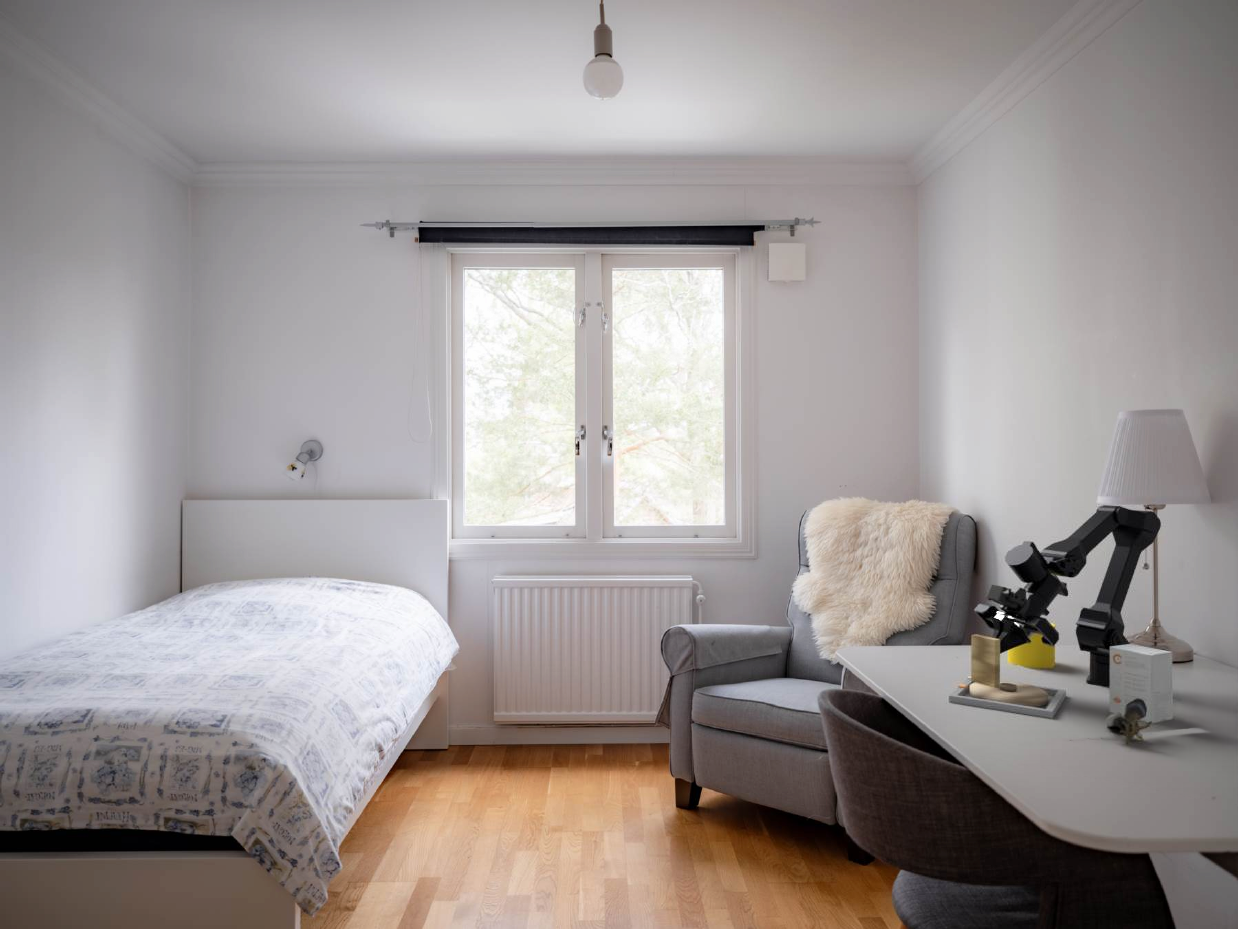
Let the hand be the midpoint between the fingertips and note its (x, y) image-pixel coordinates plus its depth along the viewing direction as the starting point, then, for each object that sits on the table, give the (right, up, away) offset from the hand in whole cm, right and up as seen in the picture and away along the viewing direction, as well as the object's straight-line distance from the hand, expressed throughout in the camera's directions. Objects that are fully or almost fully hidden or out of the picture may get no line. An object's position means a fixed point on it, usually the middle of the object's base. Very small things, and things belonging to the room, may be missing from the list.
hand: (990, 654), depth 171 cm
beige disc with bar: (+1, -8, -5) cm, 9 cm away
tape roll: (+22, -9, +28) cm, 37 cm away
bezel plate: (+1, -8, -5) cm, 10 cm away
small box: (+21, -9, -15) cm, 27 cm away
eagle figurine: (+13, -9, -25) cm, 30 cm away
